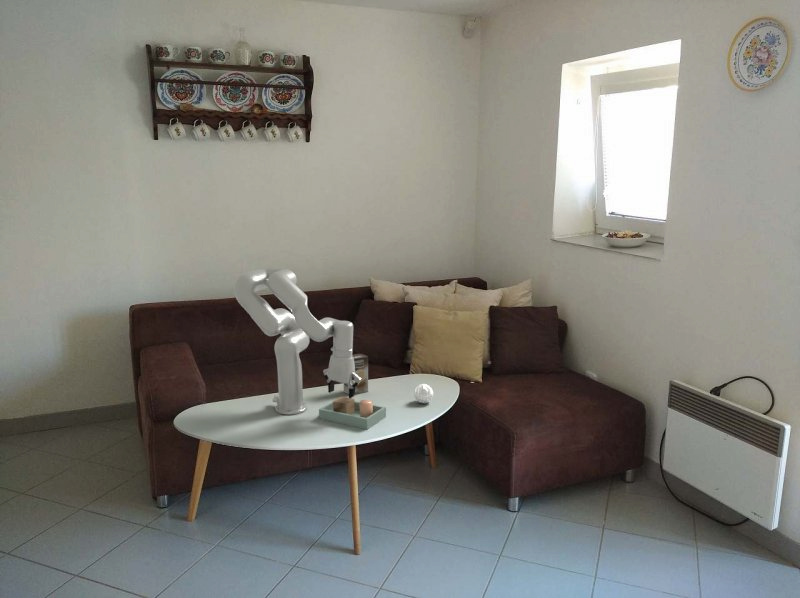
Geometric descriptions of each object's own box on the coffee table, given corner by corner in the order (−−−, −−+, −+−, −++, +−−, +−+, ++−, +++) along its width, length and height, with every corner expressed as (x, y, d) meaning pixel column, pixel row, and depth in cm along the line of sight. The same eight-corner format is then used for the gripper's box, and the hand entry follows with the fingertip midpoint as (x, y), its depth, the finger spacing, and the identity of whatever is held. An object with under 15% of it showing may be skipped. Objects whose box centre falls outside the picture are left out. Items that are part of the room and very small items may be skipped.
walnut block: (333, 415, 246) (333, 401, 245) (341, 410, 251) (341, 396, 250) (346, 418, 243) (346, 403, 242) (354, 413, 248) (354, 398, 247)
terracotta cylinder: (358, 421, 241) (357, 403, 239) (363, 416, 245) (362, 399, 244) (370, 422, 239) (369, 404, 238) (374, 417, 244) (374, 400, 242)
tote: (319, 418, 244) (318, 409, 244) (339, 407, 256) (339, 397, 256) (367, 429, 234) (367, 419, 233) (386, 416, 246) (385, 407, 245)
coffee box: (350, 395, 270) (349, 359, 266) (343, 391, 275) (342, 356, 272) (368, 391, 275) (368, 356, 271) (361, 387, 280) (360, 352, 277)
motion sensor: (414, 405, 258) (414, 387, 256) (413, 399, 265) (413, 381, 264) (433, 405, 258) (433, 387, 256) (432, 399, 265) (432, 381, 264)
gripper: (318, 350, 244) (317, 392, 248) (356, 359, 236) (354, 402, 240) (330, 346, 250) (328, 386, 254) (366, 354, 242) (364, 396, 246)
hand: (341, 394), depth 247 cm, fingers open, 9 cm apart
